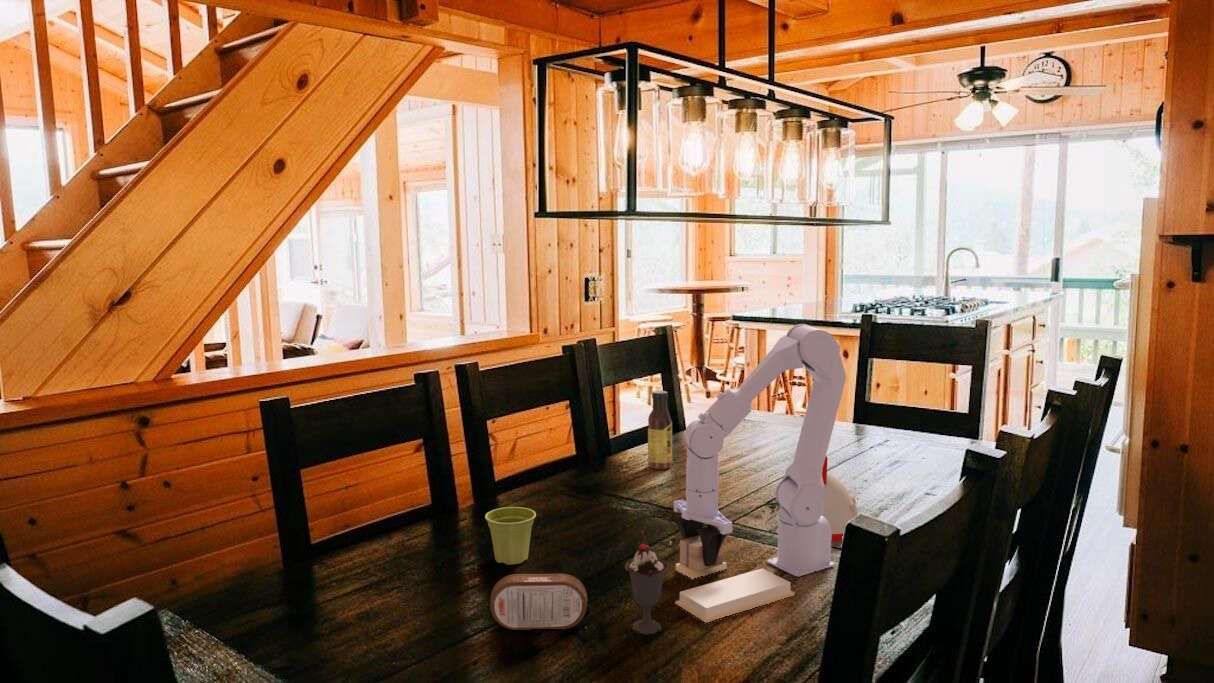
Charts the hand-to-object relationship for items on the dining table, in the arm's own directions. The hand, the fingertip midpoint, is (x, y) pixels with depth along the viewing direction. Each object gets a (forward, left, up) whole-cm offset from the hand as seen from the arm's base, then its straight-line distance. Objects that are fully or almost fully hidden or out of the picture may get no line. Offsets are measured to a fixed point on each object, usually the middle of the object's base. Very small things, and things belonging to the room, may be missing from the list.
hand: (701, 560), depth 151 cm
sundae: (+21, +13, -2) cm, 25 cm away
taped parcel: (0, 0, -2) cm, 2 cm away
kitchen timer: (-34, -3, -2) cm, 34 cm away
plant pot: (+27, -23, -2) cm, 36 cm away
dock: (+3, +13, -2) cm, 13 cm away
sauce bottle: (-32, -58, -2) cm, 66 cm away
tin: (+35, +4, -2) cm, 35 cm away
